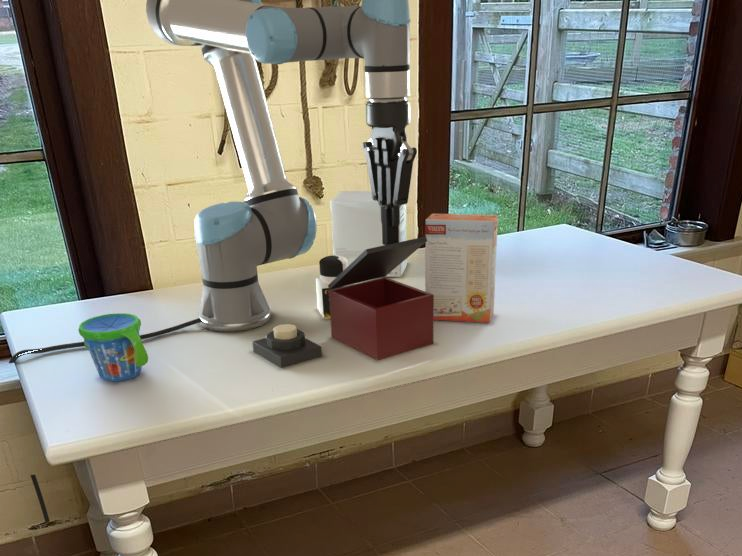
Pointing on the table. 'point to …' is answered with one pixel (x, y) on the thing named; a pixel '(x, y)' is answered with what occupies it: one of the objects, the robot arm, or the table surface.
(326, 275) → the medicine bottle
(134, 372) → the snack cup
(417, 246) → the dark grey lid
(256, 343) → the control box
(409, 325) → the dark red box
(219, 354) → the table surface
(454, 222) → the cracker box
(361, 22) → the robot arm
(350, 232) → the supplement box
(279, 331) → the button
